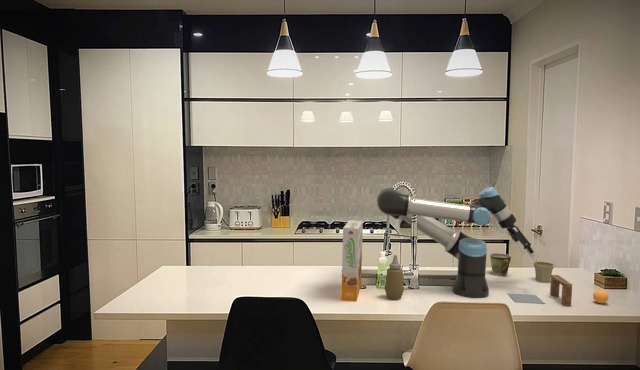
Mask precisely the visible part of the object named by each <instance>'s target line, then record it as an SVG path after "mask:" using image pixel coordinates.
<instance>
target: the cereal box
mask: <svg viewBox="0 0 640 370" xmlns="http://www.w3.org/2000/svg"><path fill="white" fill-rule="evenodd" d="M363 226H364V220H348V221H347V222H346V224H345V225H344V226H343V227H342V228H343V229H342V255H341V256H342V259H341V260H342V263H341V265H342V267H341V293H340V294H341V296H340V299H341V300H340V301H341V302H353V303H354V302H357V301H358V298H359V294H360V292H361V287H362V263H363V262H362V261H363V232H364V231H363V230H364V227H363Z"/></svg>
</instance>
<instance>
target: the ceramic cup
mask: <svg viewBox="0 0 640 370" xmlns="http://www.w3.org/2000/svg"><path fill="white" fill-rule="evenodd" d="M489 257H490V258H489V259H490V264H491V272H492V274H493V275H494V276H498V277H505V276H507V275H508V271H509V268H510V263H511V260H512V256H511V255H510V254H506V253H501V252H499V253H497V252H496V253H490V255H489Z"/></svg>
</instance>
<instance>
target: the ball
mask: <svg viewBox="0 0 640 370" xmlns="http://www.w3.org/2000/svg"><path fill="white" fill-rule="evenodd" d="M592 297H593V298H592V299H593V300H594V301H595V302H596V303H597V304H605V303H607V302H608V301H609V295H608V293H607V292H606V291H605V290H603V289H602V290H601V289H597V290H596V291H594V292H593V294H592Z"/></svg>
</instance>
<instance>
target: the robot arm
mask: <svg viewBox="0 0 640 370" xmlns="http://www.w3.org/2000/svg"><path fill="white" fill-rule="evenodd" d="M394 189H395V188H394ZM394 189H393V187H385V188H383V189H382V190H381V191H380V192H379V193H378V195H377V197H376V204H377V207H378V210H379V211H380V212H381V213H383V214H384V215H388V216H391V217H392V218H394V219H395V220H403V221H404V222H406V223H408V224H409V225H410V226H412V215H417V229H416V230H418V231H420V232H421V233H422V234H424V235H426V236H427V237H428V238H430V239H432V240H433V241H435V242H437V243H439V244H440V245H441V246H443V248H444V251H445V252H446V253H448V254H449V255H451V256H452V257H454V258H455V259H457V275H456V277H455V280H454V283H453V286H452V292H453V293H454V294H456V295H458V296H462V297H468V298H473V299H474V298H475V299H477V298H486V297H488V296H489V294H490V289H489V286H488V282H487V281H488V280H487V278H486V272H487V271H486V269H487V255H488V254H487V252H488V247H487V243H486V242H485V241H484V240H482V239H479V238H474V237H471V236H468V235H467V234H465V233H464V232H462V231H461V230H453V229H451V228H450V227H448V226H447V225H445V224H444V223H442V222H441V221H439V220H437V219H441V220H449V221H454V222H455V221H456V222H462V223H463V222H464V223H466V224H467V225H471V224H476V225H478V226H486V225H488V224H489V223H490V221H491V219H492V216H493V218H494V219H495V221H497V224H498V225H499V227H501V229H506V231H507V232H508V234H509V235H510V237H511V240H512V241H513V242H514V243H515V244H516V245H517V247H518V248H519V250H520V251H521V253H522V254H523V255H525V254H526V253H527V254H528V255H529V256H530V257H529V258H531V260H532V261H535V260H537V259H539V256H538V253H537V252H536V251H535V250H534V248H533V247H532V243H531V242H529V241H530V240H528V239H527V238H526V237H525V235H524V234H523V233H522V231H521V230H520V229H519V227H518V226H516V225H515V223H517V218H516V217H515V216H514V214H513V213H512V211H511V210H510V206H507V204H506V203H505V201H504V200H503V198H502V197H501V195H500V194H499V192H498V191H497V190H496V188H495V187H494V186H488V187H486V188H484V189H483V190H482V191H480V192H479V193H478V196H479V198H478V199H477V200H475V201H474V202H472V203H470V204H469V205H468V204H460V203H456V202H455V203H453V202H446V201H436V200H431V199H424V198H418V197H417V198H416V197H411V195H410V194H406V193H405V194H404V193H401V192H400V191H399V190H398V189H396V190H394ZM414 198H416V200H415V201H414ZM412 199H413V200H412Z"/></svg>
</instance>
